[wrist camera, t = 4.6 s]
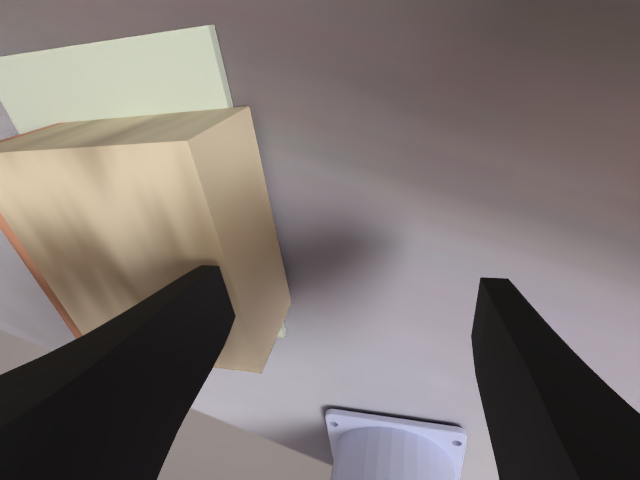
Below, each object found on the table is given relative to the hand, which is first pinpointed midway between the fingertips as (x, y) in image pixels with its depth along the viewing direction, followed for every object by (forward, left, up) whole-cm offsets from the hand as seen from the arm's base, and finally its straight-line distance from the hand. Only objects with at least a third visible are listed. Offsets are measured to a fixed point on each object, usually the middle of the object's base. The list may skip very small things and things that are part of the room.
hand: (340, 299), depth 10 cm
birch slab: (0, +4, -2) cm, 4 cm away
